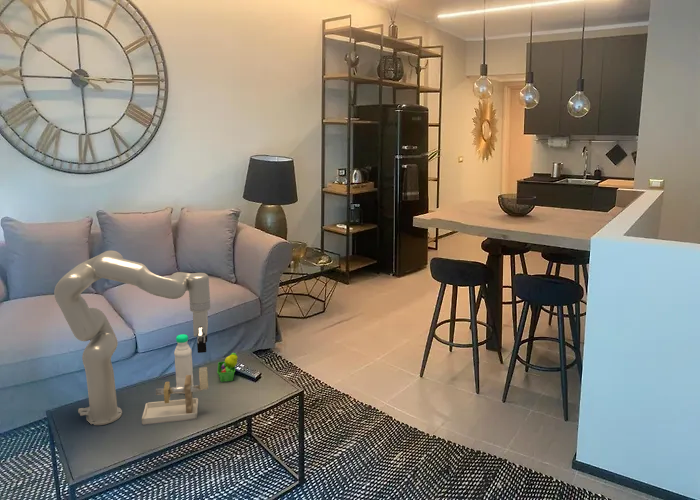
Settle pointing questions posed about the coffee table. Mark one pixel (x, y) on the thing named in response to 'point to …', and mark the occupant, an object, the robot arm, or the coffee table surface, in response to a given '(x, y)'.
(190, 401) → the shaft post
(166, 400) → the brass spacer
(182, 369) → the water bottle
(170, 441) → the coffee table surface
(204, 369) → the steel shaft
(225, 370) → the fruit basket
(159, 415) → the tray
